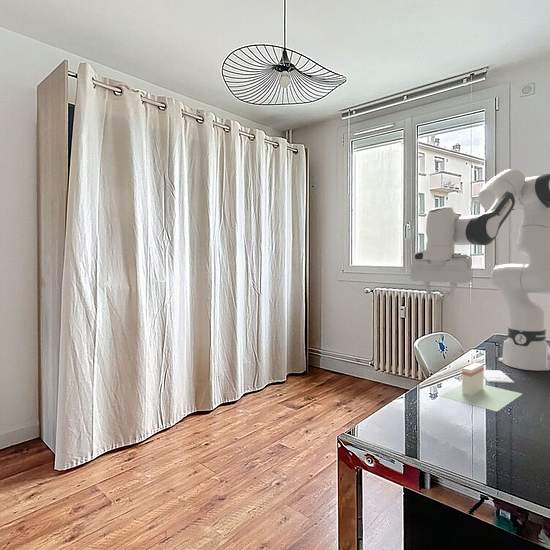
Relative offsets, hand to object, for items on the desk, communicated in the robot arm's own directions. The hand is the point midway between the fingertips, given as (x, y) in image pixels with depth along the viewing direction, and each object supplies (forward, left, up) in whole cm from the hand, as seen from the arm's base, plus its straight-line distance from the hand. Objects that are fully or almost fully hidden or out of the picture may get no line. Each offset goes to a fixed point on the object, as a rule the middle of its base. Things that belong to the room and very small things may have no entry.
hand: (439, 295), depth 133 cm
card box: (+4, +13, -29) cm, 32 cm away
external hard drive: (-16, +12, -30) cm, 36 cm away
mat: (+5, +16, -29) cm, 34 cm away
